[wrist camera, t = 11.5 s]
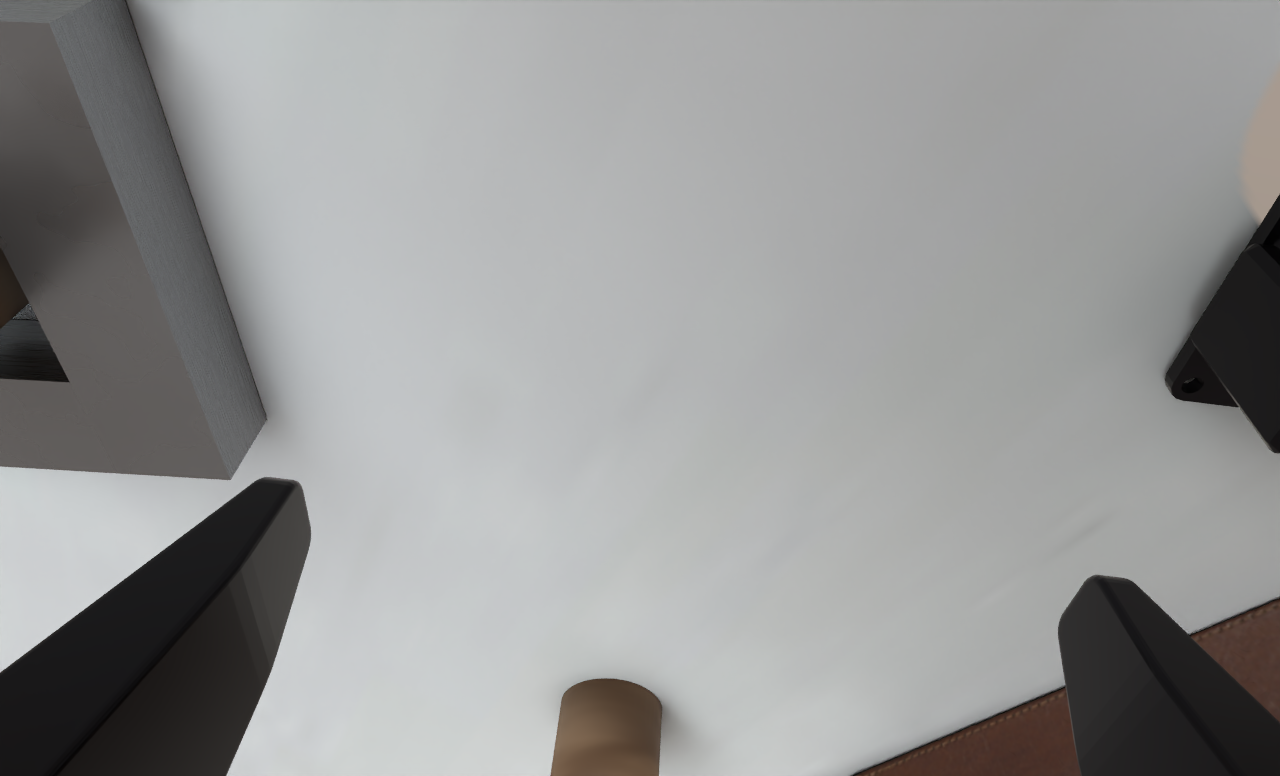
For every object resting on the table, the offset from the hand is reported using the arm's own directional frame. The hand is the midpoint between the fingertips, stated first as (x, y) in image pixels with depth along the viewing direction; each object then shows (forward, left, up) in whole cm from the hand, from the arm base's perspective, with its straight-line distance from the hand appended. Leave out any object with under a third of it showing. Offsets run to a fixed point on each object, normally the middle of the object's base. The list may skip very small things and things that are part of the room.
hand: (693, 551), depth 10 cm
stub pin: (0, +24, -12) cm, 27 cm away
